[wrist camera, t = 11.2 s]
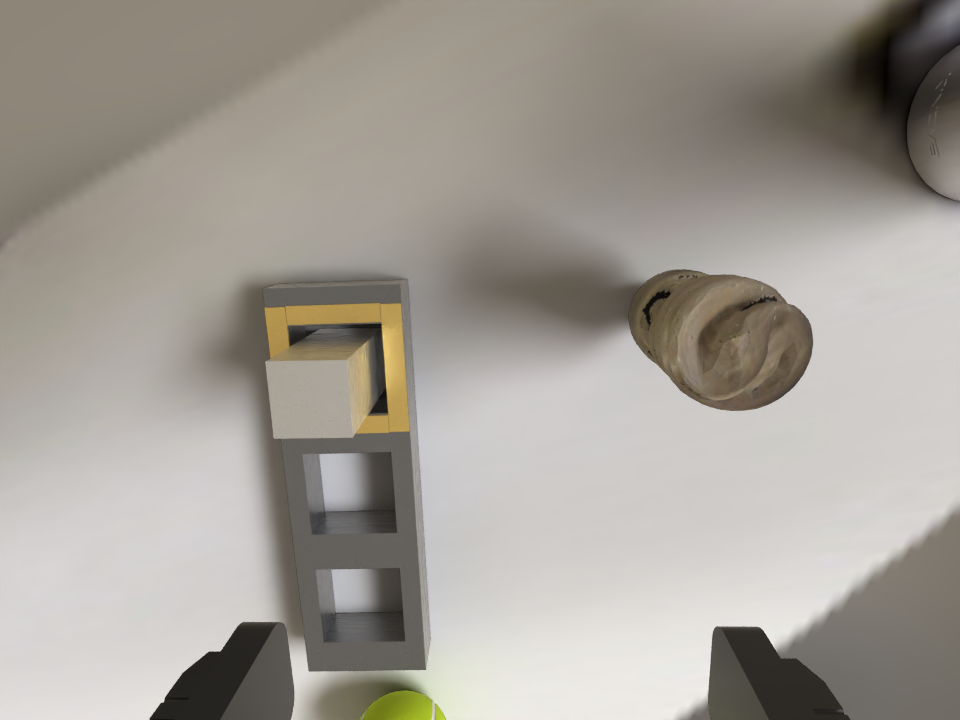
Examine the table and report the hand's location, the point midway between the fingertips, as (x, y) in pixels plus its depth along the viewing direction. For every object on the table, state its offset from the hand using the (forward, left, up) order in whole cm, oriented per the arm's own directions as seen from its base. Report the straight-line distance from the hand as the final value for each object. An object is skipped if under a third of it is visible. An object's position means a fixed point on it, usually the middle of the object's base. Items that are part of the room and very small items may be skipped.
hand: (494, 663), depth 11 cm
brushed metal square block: (+9, 0, -27) cm, 28 cm away
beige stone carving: (-10, -3, -27) cm, 29 cm away
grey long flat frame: (+9, +8, -27) cm, 29 cm away
